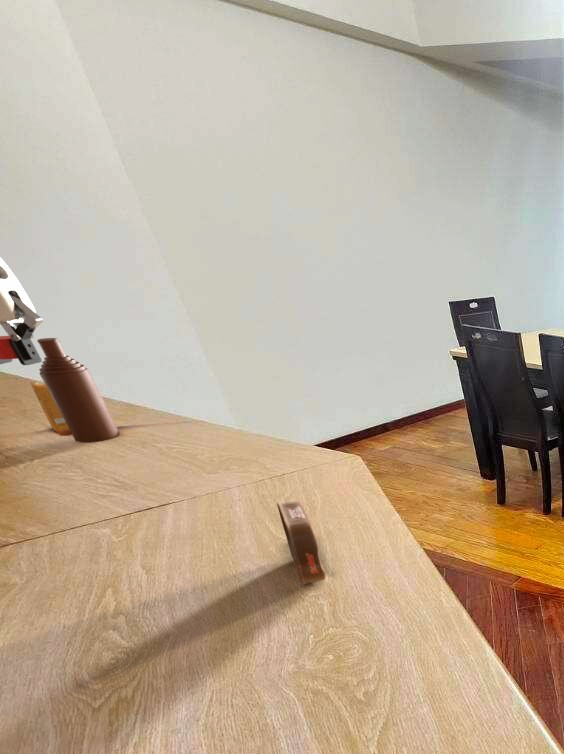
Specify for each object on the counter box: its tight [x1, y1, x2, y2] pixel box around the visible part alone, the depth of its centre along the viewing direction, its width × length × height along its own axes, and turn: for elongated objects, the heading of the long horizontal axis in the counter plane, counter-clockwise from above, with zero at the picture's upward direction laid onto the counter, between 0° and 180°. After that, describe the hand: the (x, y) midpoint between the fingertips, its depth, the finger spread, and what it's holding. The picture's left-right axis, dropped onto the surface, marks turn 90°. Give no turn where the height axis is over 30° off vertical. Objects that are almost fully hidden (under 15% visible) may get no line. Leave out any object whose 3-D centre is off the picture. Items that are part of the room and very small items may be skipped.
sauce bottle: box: [37, 337, 121, 443], centre depth 113 cm, size 6×6×19 cm
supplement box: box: [30, 381, 72, 437], centre depth 116 cm, size 3×3×10 cm
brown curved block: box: [276, 500, 327, 586], centre depth 77 cm, size 15×3×8 cm, turn 40°
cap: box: [0, 335, 19, 360], centre depth 100 cm, size 4×4×3 cm
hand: (17, 362), depth 101 cm, fingers closed on cap, 3 cm apart
